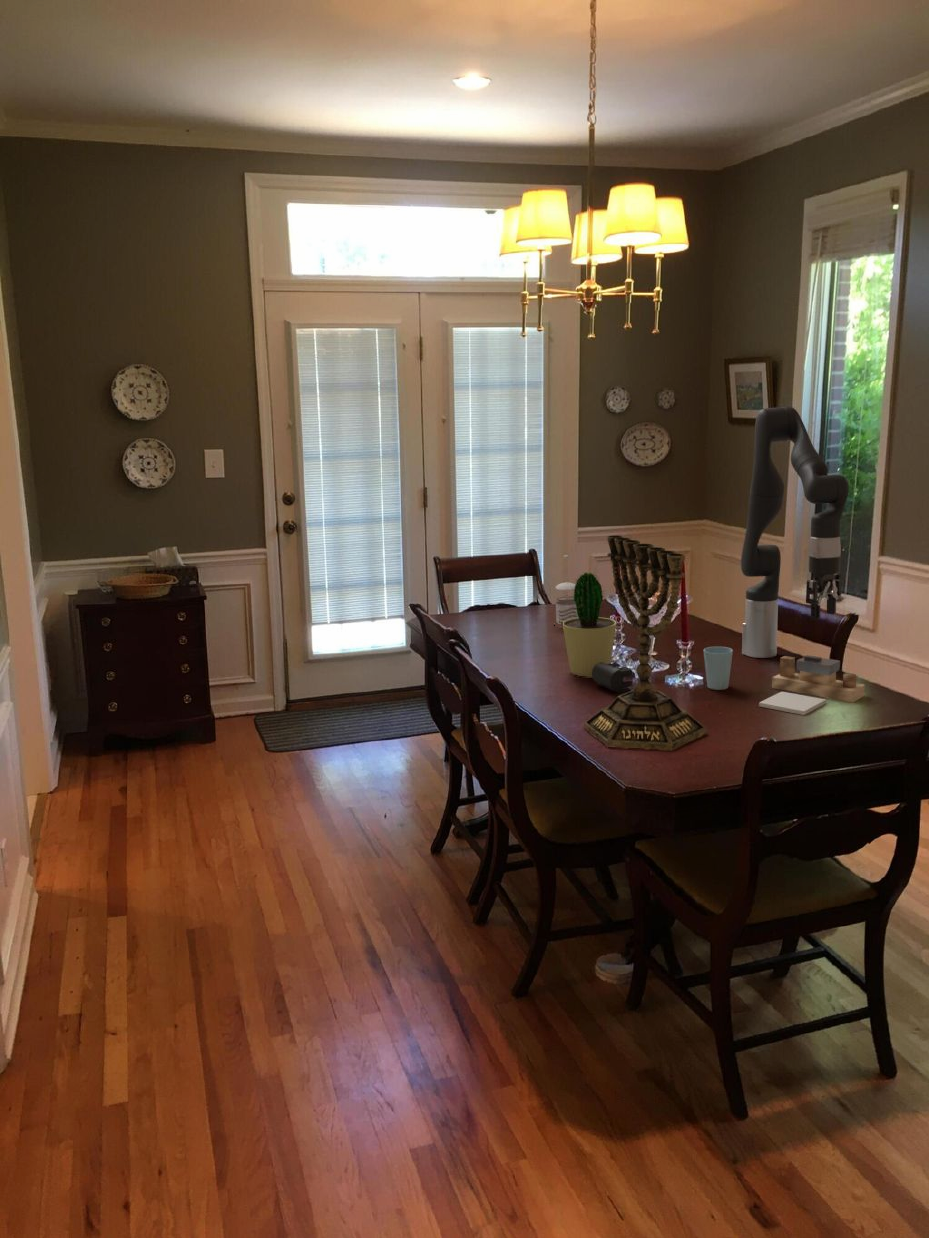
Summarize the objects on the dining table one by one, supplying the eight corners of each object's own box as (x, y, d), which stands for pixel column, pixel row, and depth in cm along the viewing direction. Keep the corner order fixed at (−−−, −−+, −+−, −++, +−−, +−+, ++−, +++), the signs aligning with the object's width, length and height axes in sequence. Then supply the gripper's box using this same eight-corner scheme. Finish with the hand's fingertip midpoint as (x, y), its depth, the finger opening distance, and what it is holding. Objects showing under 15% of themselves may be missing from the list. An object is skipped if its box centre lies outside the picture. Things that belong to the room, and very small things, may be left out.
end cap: (591, 686, 278) (591, 663, 277) (613, 682, 281) (613, 659, 280) (610, 695, 269) (610, 671, 268) (633, 691, 272) (633, 667, 271)
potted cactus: (625, 675, 287) (625, 572, 281) (576, 682, 283) (573, 577, 277) (603, 662, 302) (602, 564, 295) (555, 668, 298) (553, 568, 291)
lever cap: (796, 669, 264) (796, 657, 264) (806, 664, 268) (807, 652, 268) (829, 675, 258) (829, 662, 257) (839, 669, 262) (840, 657, 262)
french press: (551, 623, 356) (549, 553, 351) (583, 621, 357) (581, 551, 352) (556, 629, 346) (554, 558, 341) (589, 627, 348) (588, 556, 342)
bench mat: (759, 706, 255) (759, 702, 255) (781, 695, 263) (781, 691, 263) (804, 715, 247) (804, 711, 246) (825, 703, 255) (825, 699, 255)
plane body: (772, 687, 270) (772, 659, 268) (784, 681, 275) (785, 653, 273) (852, 702, 255) (853, 672, 253) (864, 695, 259) (865, 666, 258)
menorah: (730, 748, 226) (733, 551, 216) (627, 763, 220) (625, 560, 210) (658, 703, 261) (658, 531, 251) (567, 715, 254) (564, 539, 245)
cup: (711, 692, 268) (712, 654, 266) (697, 685, 275) (698, 648, 273) (737, 689, 270) (738, 651, 268) (722, 682, 277) (723, 645, 275)
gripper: (824, 549, 263) (822, 610, 266) (797, 556, 254) (796, 619, 257) (851, 551, 258) (850, 613, 261) (825, 558, 248) (823, 623, 252)
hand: (823, 616), depth 259 cm, fingers open, 8 cm apart
